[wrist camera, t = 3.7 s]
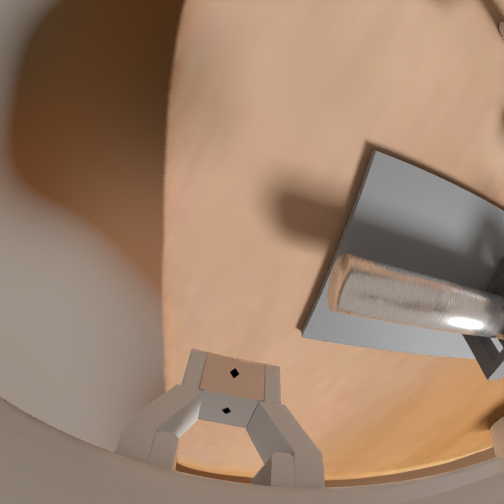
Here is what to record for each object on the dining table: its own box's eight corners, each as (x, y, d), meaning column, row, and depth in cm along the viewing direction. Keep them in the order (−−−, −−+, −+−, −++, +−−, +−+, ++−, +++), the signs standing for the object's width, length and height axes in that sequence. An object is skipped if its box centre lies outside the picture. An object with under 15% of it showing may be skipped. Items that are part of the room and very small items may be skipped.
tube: (343, 239, 17) (358, 272, 14) (529, 296, 18) (549, 320, 15) (322, 289, 18) (331, 327, 15) (510, 327, 19) (527, 351, 16)
